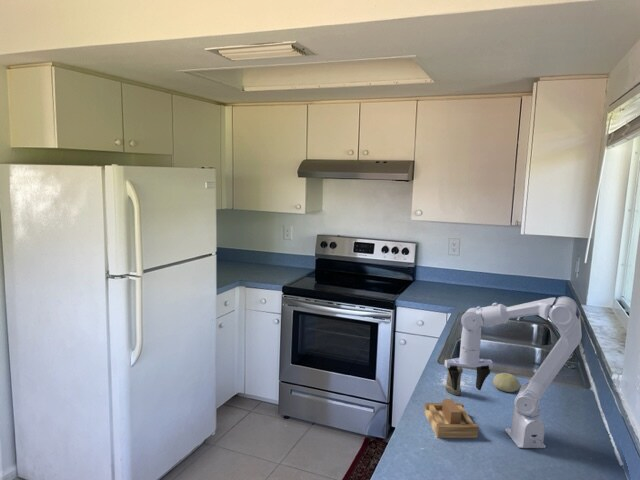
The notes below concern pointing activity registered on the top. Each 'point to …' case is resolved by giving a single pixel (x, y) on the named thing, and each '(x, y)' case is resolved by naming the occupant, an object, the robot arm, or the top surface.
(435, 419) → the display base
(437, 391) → the top surface
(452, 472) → the top surface
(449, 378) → the stone
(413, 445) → the top surface
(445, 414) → the tan wooden post
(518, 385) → the sea urchin shell
